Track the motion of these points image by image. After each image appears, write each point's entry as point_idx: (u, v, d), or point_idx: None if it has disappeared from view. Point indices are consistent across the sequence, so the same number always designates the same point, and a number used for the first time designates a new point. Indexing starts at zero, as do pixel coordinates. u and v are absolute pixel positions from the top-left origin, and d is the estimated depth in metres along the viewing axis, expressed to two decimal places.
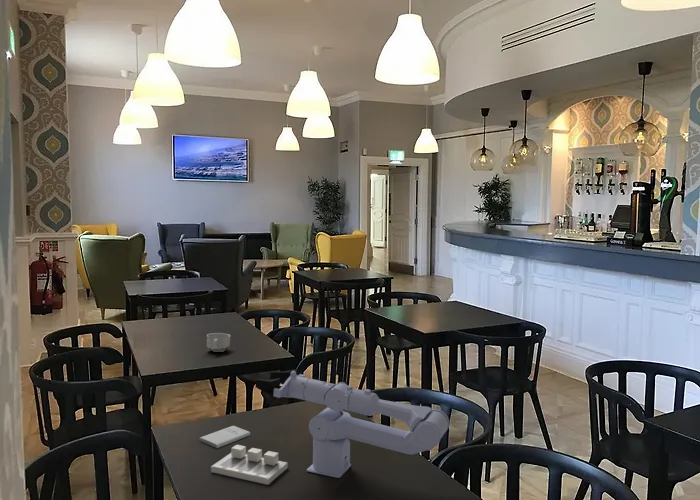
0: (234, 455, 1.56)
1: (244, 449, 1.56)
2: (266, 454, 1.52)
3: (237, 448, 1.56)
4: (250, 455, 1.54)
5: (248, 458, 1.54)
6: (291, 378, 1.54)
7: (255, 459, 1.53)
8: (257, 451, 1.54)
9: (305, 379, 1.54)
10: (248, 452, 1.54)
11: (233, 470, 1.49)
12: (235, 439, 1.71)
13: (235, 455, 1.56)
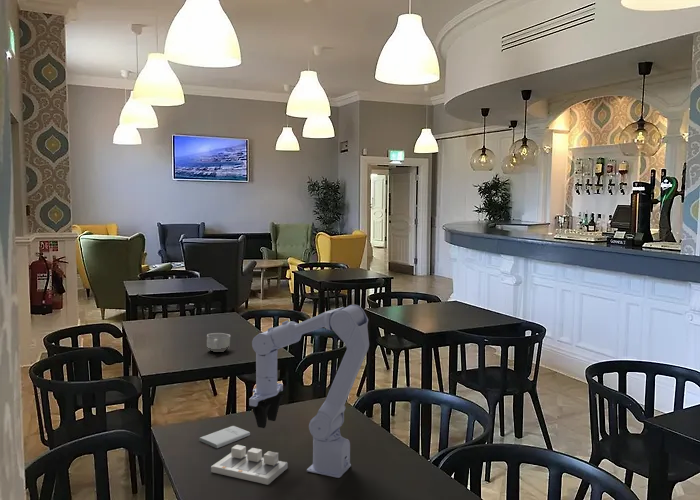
0: (234, 455, 1.56)
1: (244, 449, 1.56)
2: (266, 454, 1.52)
3: (237, 448, 1.56)
4: (250, 455, 1.54)
5: (248, 458, 1.54)
6: (255, 391, 1.59)
7: (255, 459, 1.53)
8: (257, 451, 1.54)
9: None
10: (248, 452, 1.54)
11: (233, 470, 1.49)
12: (235, 439, 1.71)
13: (235, 455, 1.56)
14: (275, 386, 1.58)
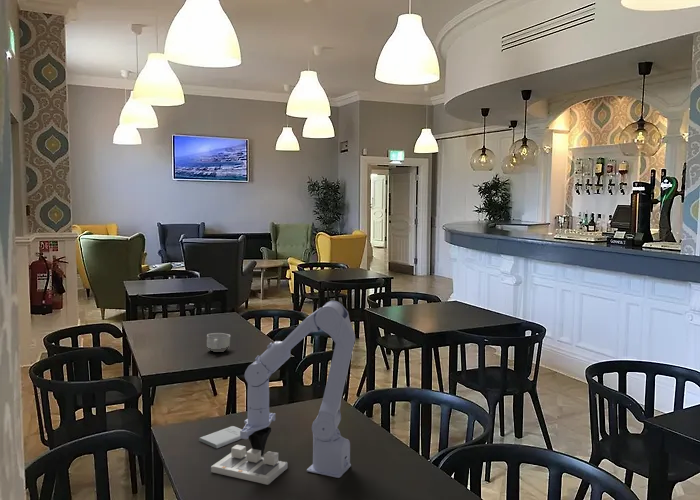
0: (234, 455, 1.56)
1: (244, 449, 1.56)
2: (266, 454, 1.52)
3: (237, 448, 1.56)
4: (249, 456, 1.53)
5: (247, 459, 1.54)
6: (247, 422, 1.55)
7: (254, 460, 1.53)
8: (256, 452, 1.54)
9: None
10: (247, 453, 1.53)
11: (233, 470, 1.49)
12: (235, 439, 1.71)
13: (235, 455, 1.56)
14: (267, 417, 1.54)
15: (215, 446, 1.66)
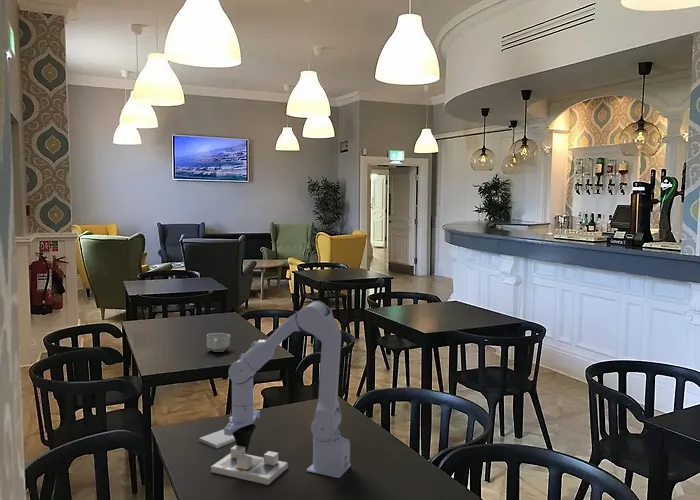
0: (233, 456, 1.55)
1: (243, 450, 1.56)
2: (266, 454, 1.52)
3: (236, 449, 1.55)
4: (240, 463, 1.49)
5: (238, 466, 1.50)
6: (231, 419, 1.57)
7: (245, 467, 1.49)
8: (247, 458, 1.49)
9: None
10: (238, 459, 1.49)
11: (233, 470, 1.49)
12: (234, 439, 1.71)
13: (234, 456, 1.55)
14: (251, 414, 1.56)
15: (215, 446, 1.66)
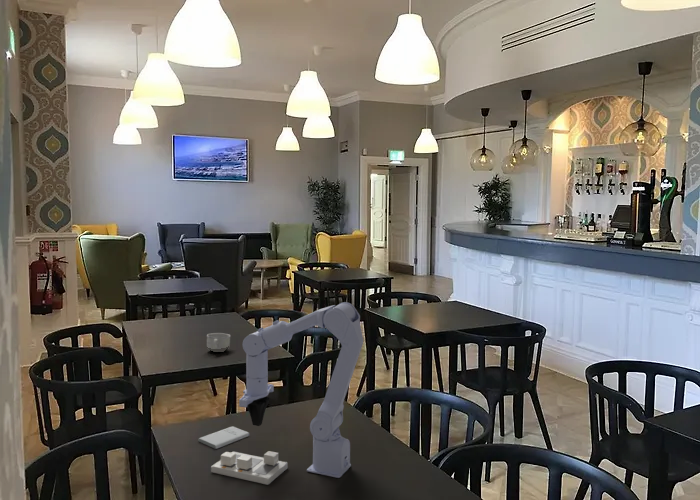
0: (223, 462, 1.51)
1: (234, 456, 1.52)
2: (266, 454, 1.52)
3: (226, 455, 1.51)
4: (240, 463, 1.49)
5: (238, 466, 1.50)
6: (246, 392, 1.58)
7: (245, 467, 1.49)
8: (247, 458, 1.49)
9: None
10: (238, 459, 1.49)
11: (233, 470, 1.49)
12: (234, 440, 1.71)
13: (224, 462, 1.51)
14: (265, 387, 1.57)
15: (214, 447, 1.66)
